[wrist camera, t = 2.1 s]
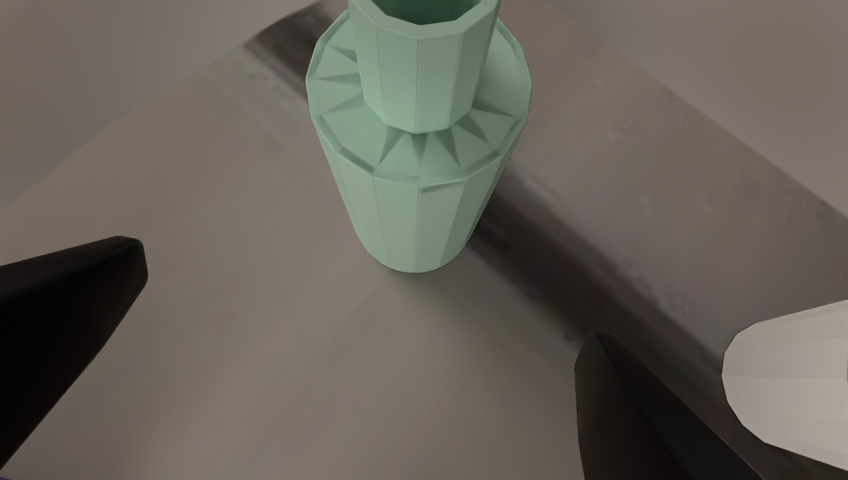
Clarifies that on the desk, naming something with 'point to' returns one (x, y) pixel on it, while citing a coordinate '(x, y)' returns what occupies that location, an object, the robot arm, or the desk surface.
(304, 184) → the desk surface
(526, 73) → the water bottle
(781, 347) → the shot glass
